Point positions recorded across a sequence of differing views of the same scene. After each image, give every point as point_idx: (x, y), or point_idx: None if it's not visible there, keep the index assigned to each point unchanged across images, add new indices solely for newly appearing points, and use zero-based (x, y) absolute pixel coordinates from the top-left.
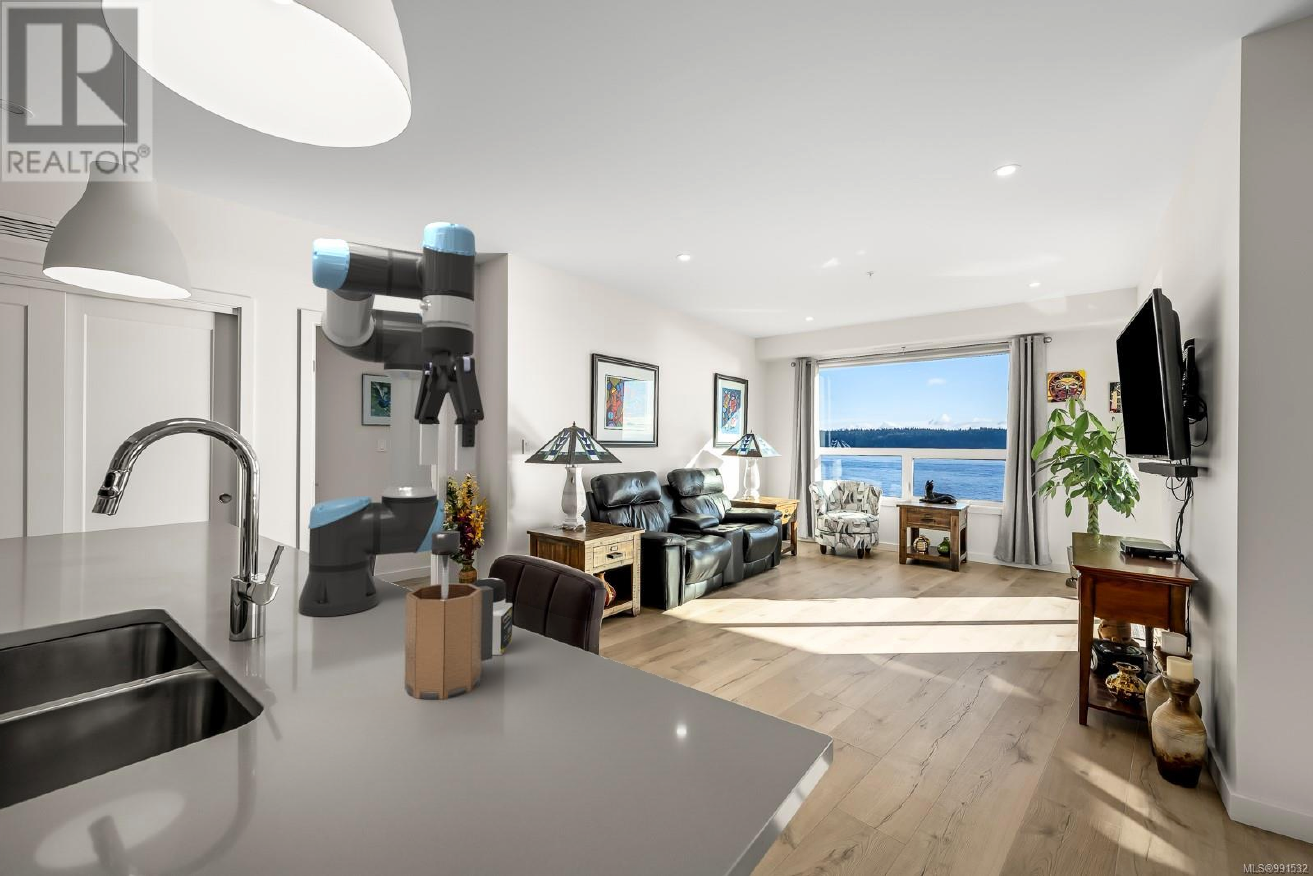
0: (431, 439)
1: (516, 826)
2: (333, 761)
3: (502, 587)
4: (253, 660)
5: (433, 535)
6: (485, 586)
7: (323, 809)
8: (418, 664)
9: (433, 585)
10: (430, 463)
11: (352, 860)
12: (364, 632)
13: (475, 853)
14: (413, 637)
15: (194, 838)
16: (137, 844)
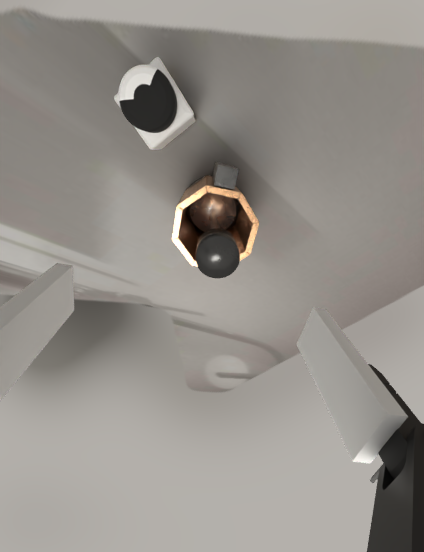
0: (25, 337)
1: (383, 284)
2: (253, 307)
3: (173, 90)
4: None
5: (216, 277)
6: (220, 169)
7: (289, 326)
8: None
9: (177, 223)
10: (72, 289)
11: None
12: (14, 179)
13: (376, 304)
14: None
15: (262, 359)
16: (248, 370)
